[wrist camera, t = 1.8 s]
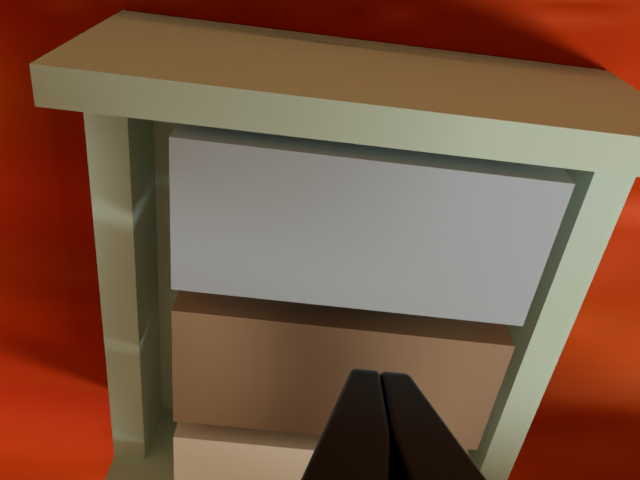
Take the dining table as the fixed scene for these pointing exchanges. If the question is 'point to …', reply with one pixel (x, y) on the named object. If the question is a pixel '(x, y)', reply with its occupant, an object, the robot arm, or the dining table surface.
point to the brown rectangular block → (325, 362)
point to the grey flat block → (360, 224)
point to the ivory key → (240, 453)
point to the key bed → (331, 125)
